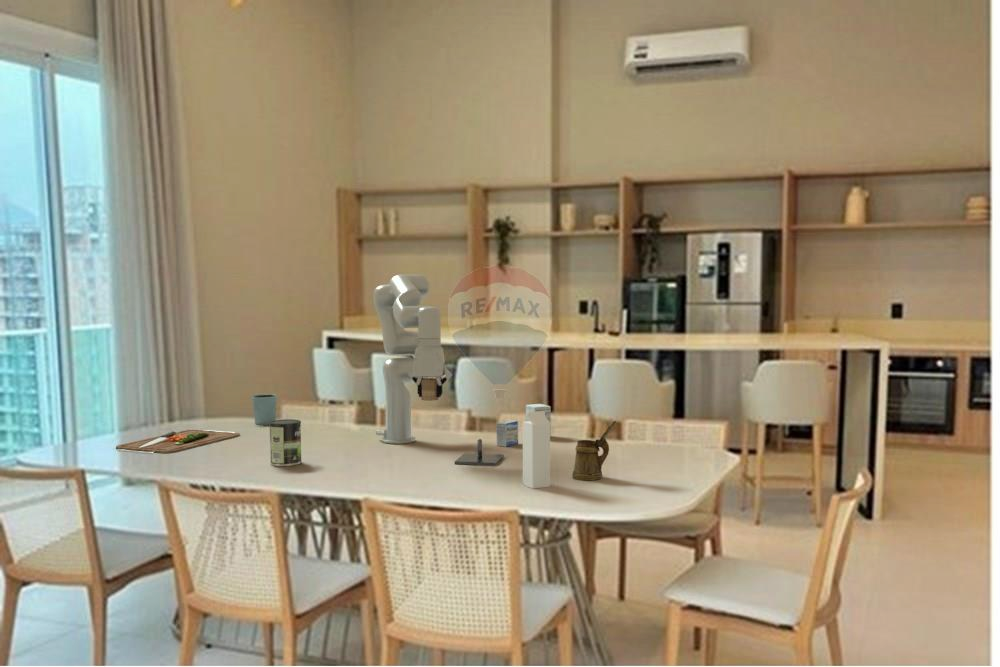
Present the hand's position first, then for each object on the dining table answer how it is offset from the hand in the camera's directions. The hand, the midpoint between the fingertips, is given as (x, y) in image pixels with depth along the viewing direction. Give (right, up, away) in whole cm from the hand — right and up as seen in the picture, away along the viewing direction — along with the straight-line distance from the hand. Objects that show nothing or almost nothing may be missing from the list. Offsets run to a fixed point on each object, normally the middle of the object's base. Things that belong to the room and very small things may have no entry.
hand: (430, 396), depth 290 cm
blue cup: (-78, -18, +78) cm, 112 cm away
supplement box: (+39, -19, +42) cm, 60 cm away
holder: (+17, -22, -2) cm, 28 cm away
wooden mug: (+53, -23, -28) cm, 64 cm away
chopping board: (-98, -21, +35) cm, 106 cm away
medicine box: (+26, -20, +27) cm, 43 cm away
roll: (0, -1, 0) cm, 1 cm away
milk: (+34, -24, -38) cm, 56 cm away
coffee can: (-48, -22, -5) cm, 53 cm away
